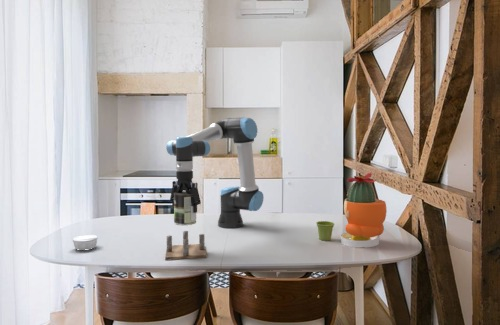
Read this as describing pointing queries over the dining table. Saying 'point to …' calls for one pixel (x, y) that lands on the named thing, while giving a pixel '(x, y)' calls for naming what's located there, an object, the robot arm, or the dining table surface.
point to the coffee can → (183, 208)
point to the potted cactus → (363, 214)
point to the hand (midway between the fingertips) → (185, 218)
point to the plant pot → (325, 230)
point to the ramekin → (85, 242)
